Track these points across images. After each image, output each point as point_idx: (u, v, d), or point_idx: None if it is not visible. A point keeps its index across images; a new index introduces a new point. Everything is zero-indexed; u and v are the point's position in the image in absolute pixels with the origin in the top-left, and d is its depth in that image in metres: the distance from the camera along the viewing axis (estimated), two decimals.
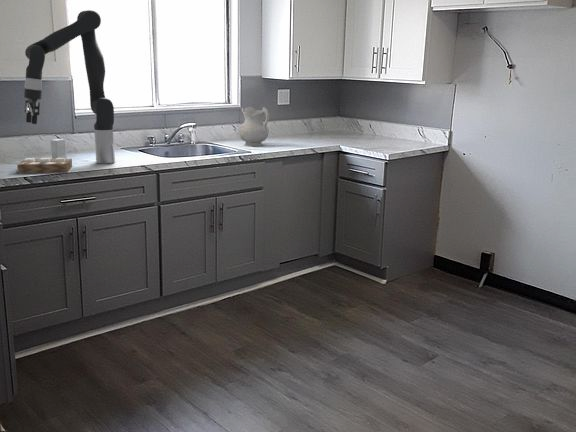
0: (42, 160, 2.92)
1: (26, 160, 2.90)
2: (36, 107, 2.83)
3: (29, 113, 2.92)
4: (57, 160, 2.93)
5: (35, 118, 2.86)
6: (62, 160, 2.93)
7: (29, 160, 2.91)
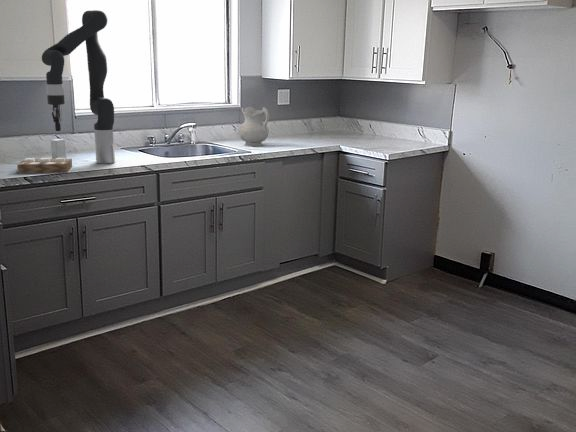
0: (42, 160, 2.92)
1: (26, 160, 2.90)
2: (55, 117, 2.85)
3: None
4: (57, 160, 2.93)
5: (57, 125, 2.90)
6: (62, 160, 2.93)
7: (29, 160, 2.91)
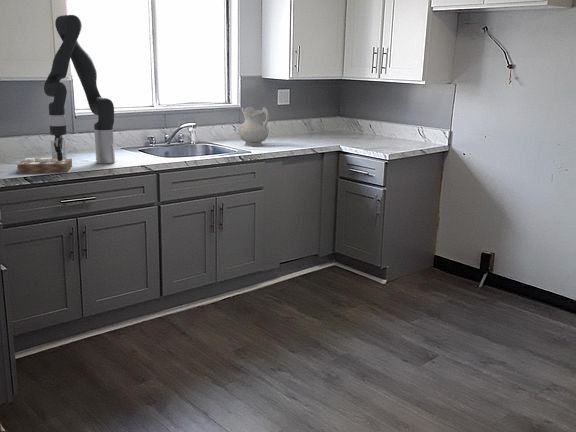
0: (42, 160, 2.92)
1: (26, 160, 2.90)
2: (57, 147, 2.89)
3: None
4: None
5: (59, 155, 2.93)
6: None
7: (29, 160, 2.91)
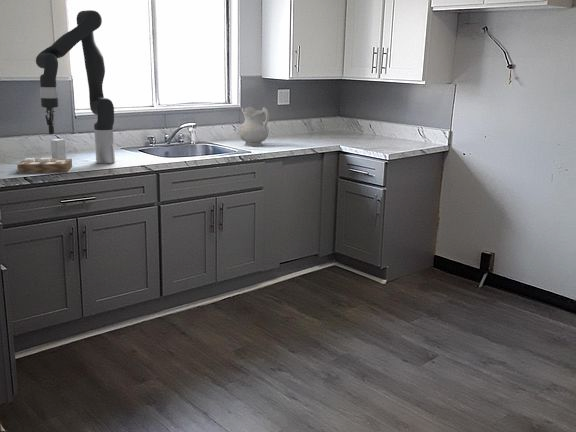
0: (42, 160, 2.92)
1: (26, 160, 2.90)
2: (48, 120, 2.85)
3: None
4: None
5: (51, 128, 2.89)
6: None
7: (29, 160, 2.91)
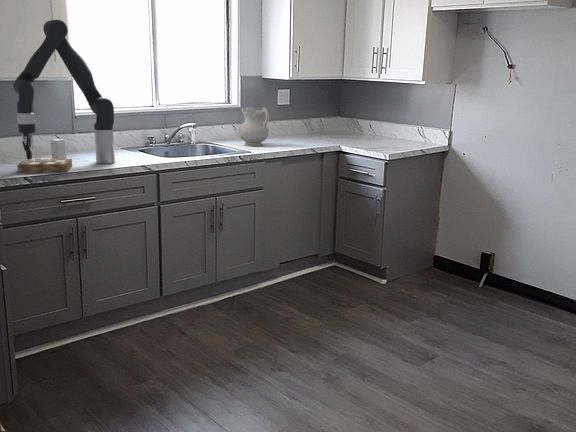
0: (42, 160, 2.92)
1: (26, 160, 2.90)
2: (25, 146, 2.86)
3: None
4: None
5: (28, 153, 2.90)
6: None
7: (29, 160, 2.91)
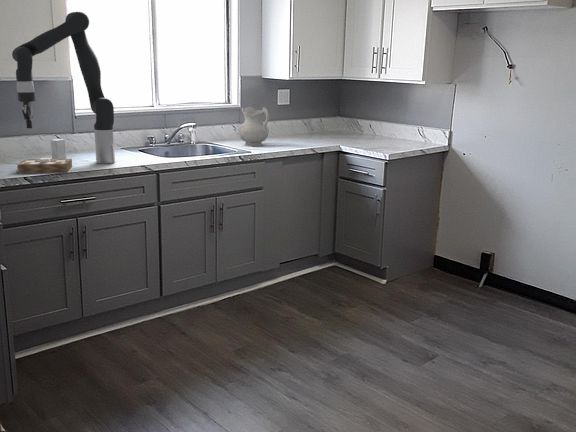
0: (42, 160, 2.92)
1: None
2: (25, 114, 2.84)
3: None
4: None
5: (28, 122, 2.89)
6: None
7: None
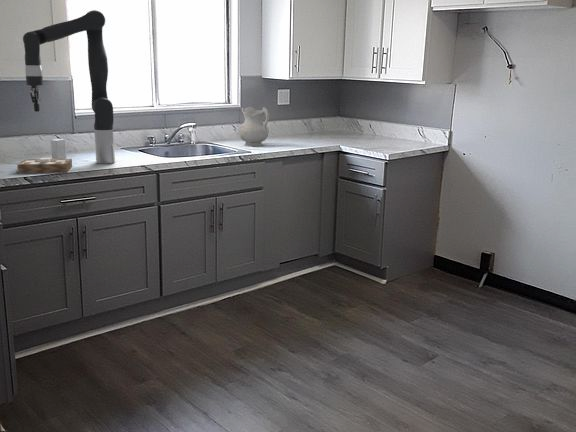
0: (42, 160, 2.92)
1: None
2: (33, 97, 2.92)
3: None
4: None
5: (36, 106, 2.96)
6: None
7: None
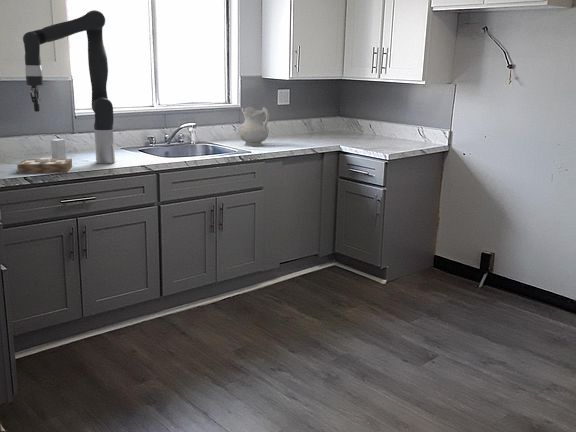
0: (42, 160, 2.92)
1: None
2: (33, 97, 2.92)
3: None
4: None
5: (36, 106, 2.96)
6: None
7: None
